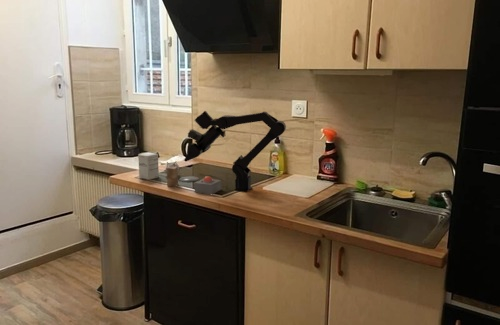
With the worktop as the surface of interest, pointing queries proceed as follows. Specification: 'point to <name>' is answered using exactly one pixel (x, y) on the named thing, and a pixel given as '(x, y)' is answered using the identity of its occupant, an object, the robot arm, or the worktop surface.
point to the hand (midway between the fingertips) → (188, 158)
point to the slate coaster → (188, 179)
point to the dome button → (207, 180)
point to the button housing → (207, 186)
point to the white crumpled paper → (172, 166)
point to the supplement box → (148, 165)
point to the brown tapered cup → (172, 176)
